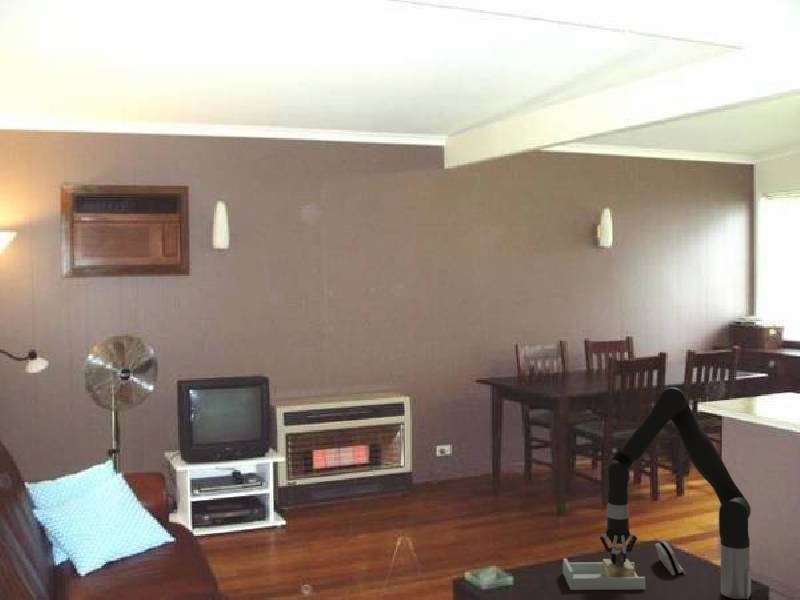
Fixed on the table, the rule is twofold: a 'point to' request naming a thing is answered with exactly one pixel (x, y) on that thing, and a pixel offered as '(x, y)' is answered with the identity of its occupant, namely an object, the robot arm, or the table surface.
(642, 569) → the table surface
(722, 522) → the robot arm
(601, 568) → the bay
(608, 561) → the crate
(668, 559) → the hinge
